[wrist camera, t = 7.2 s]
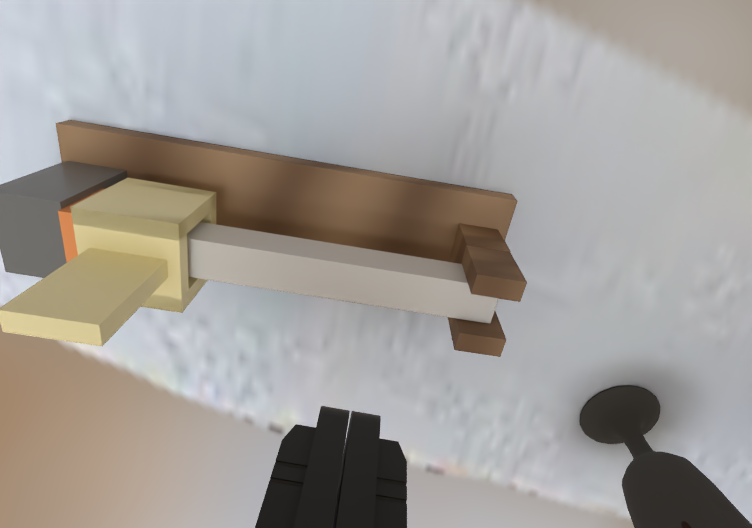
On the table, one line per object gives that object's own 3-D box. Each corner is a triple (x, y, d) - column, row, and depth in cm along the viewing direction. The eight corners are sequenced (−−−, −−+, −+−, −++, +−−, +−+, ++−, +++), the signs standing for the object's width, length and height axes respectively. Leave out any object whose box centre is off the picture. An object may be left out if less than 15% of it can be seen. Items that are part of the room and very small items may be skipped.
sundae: (655, 357, 27) (925, 677, 13) (684, 429, 29) (936, 760, 16) (550, 398, 28) (693, 719, 15) (586, 462, 31) (736, 788, 17)
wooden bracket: (512, 194, 22) (553, 246, 17) (476, 310, 26) (500, 387, 20) (69, 120, 21) (-48, 147, 16) (88, 249, 25) (-4, 312, 19)
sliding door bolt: (487, 229, 22) (511, 276, 18) (469, 291, 24) (487, 348, 19) (67, 160, 21) (-19, 191, 17) (78, 229, 23) (1, 274, 18)
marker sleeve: (216, 192, 20) (110, 281, 13) (216, 269, 22) (123, 388, 14) (127, 177, 20) (-35, 259, 12) (134, 256, 22) (-3, 369, 14)
